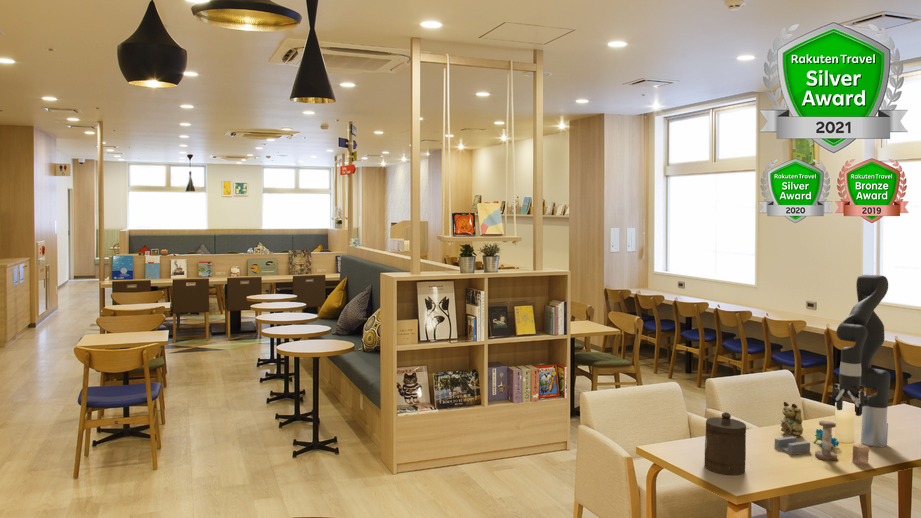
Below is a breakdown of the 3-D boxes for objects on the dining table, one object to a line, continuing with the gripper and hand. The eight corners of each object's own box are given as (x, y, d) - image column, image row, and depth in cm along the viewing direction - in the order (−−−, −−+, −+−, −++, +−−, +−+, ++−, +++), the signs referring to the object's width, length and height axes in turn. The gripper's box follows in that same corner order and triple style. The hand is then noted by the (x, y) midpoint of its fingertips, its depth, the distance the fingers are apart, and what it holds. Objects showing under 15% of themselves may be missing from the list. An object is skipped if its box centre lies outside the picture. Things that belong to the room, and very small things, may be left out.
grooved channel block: (792, 445, 282) (792, 436, 282) (809, 452, 274) (810, 442, 273) (774, 447, 279) (774, 438, 278) (791, 454, 270) (792, 445, 270)
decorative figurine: (777, 433, 298) (778, 401, 297) (787, 430, 303) (788, 398, 302) (797, 439, 290) (798, 406, 289) (807, 436, 295) (809, 403, 294)
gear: (845, 445, 277) (829, 429, 276) (836, 456, 276) (821, 440, 275) (826, 441, 288) (811, 425, 287) (818, 451, 287) (803, 435, 286)
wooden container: (719, 458, 264) (721, 405, 263) (753, 470, 252) (755, 414, 251) (696, 465, 256) (697, 411, 255) (729, 478, 244) (731, 420, 243)
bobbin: (824, 453, 272) (826, 419, 272) (841, 459, 265) (843, 424, 264) (810, 455, 270) (811, 420, 269) (827, 461, 262) (828, 426, 261)
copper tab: (861, 460, 264) (862, 444, 264) (868, 463, 261) (868, 446, 261) (852, 462, 262) (853, 445, 262) (859, 464, 259) (859, 447, 259)
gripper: (873, 376, 256) (871, 416, 257) (841, 368, 270) (840, 407, 271) (859, 378, 254) (857, 418, 255) (828, 370, 267) (826, 408, 268)
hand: (848, 412), depth 263 cm, fingers open, 8 cm apart
